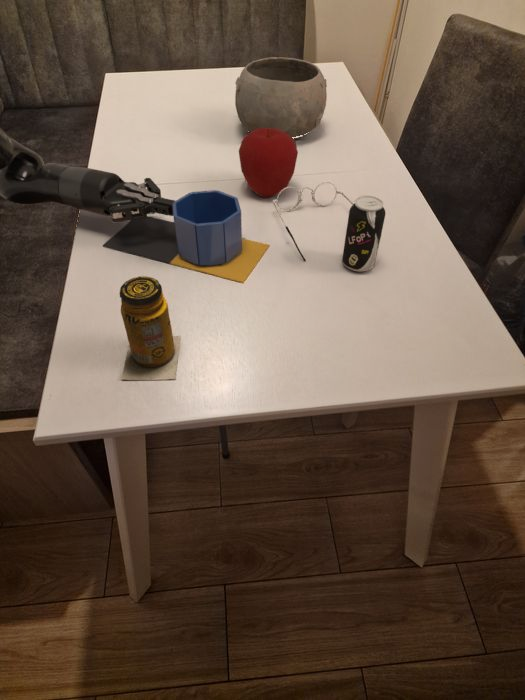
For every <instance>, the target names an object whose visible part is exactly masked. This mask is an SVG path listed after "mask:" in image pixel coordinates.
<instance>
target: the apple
mask: <svg viewBox="0 0 525 700" xmlns="http://www.w3.org/2000/svg"><path fill="white" fill-rule="evenodd" d="M238 154H239V155H238V157H239V163H240V171H241V173H242V176H243V177H244V180H245V182H246V184H247V186H248V187H249V189H251V190H252V191H253V192H254V193H256V194H257V196H260V197H261V198H272V197H274V196H276V195H278V194H279V193H280V191H281V190H282V189H284V188H286V187H289V186H288V185H289V183H290V182H291V180H292V178H293V176H294V174H295V169H296V164H297V159H298V154H299V152H298V148H297V145H296V142H295V140H293V138H292V137H290V136H289V135H288V134H287V133H285V132H283V131H281V130H278V129H274V128H260V129H255V130H253V131H251V132H250V133H249V132H247V134H246V135H244V136H243V138H242V140H241V143H240V146H239V148H238ZM286 189H287V188H286ZM284 190H285V189H284ZM280 194H281V193H280Z"/></svg>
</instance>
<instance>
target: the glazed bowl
mask: <svg viewBox="0 0 525 700" xmlns="http://www.w3.org/2000/svg"><path fill="white" fill-rule="evenodd" d="M174 201H175V202H173V203H172V204H173V216H172V217H173V222H174V224H175V231H176V238H177V246H178V253H179V256H180V257H181V258H184V259H185V260H186V261H188V262H190V263H192V264H195V265H199V266H217V265H222V264H225V263H227V262H229V261H231V260H232V259H234V258H235V257H236V256H237V254H239V253H240V252H241V251H242V238H243V230H242V227H243V226H242V208H241V205H240V201H239V198H238V197H237V196H234V195H231V194H228V193H225V192H223V191H221V190H214V189H213V190H200V191H191V192H188V193H187V194H185V195H183V196H181V197H180V198H178V199H176V200H174Z"/></svg>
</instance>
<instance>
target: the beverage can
mask: <svg viewBox="0 0 525 700" xmlns="http://www.w3.org/2000/svg"><path fill="white" fill-rule="evenodd" d="M353 203H354V204H353V205H352V204H351V206H350V208H349V211H348V217H347V225H346V231H345V237H344V244H343V250H342V251H343V252H342V257H341V260H342V261H341V262H342V264H343V265H344V266H345V267H346V268H347V269H349V270H351V271H353V272H359V273H360V272H366V271H370V270H372V269H373V268H374V267H375V265H376V262H377V257H378V253H379V247H380V244H381V243H380V242H381V237H382V232H383V229H384V223H385V219H386V209H385V208H384V201H383V200H382V199H381V198H379V197H377V196H373V195H360V196H358V197H356V198H355V200H354V202H353Z"/></svg>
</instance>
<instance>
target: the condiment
mask: <svg viewBox="0 0 525 700" xmlns="http://www.w3.org/2000/svg"><path fill="white" fill-rule="evenodd" d="M119 298H120V303H121V305H120V314H121V318H122V321H123V325H124V329H125V333H126V337H127V342H128V348H127V353H126V356H125V360H124V364H123V368H122V369H123V370H122V374H121V378H120V380H127V381H158V380H163V381H164V380H176V376H177V368H178V361H179V351H180V343H181V335H173V330H172V329H173V328H172V324H171V319H170V318H171V317H170V312H169V305H168V302H167V299H166V298H165V296H164V292H163V287H162V284H160V282H159V280H158V279H156V278H154V277H151V276H147V275H146V276H144V275H143V276H137V277H132V278H130V279H128V280H126V281H125V282H123V283H122V285H121V286H120V288H119Z"/></svg>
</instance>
